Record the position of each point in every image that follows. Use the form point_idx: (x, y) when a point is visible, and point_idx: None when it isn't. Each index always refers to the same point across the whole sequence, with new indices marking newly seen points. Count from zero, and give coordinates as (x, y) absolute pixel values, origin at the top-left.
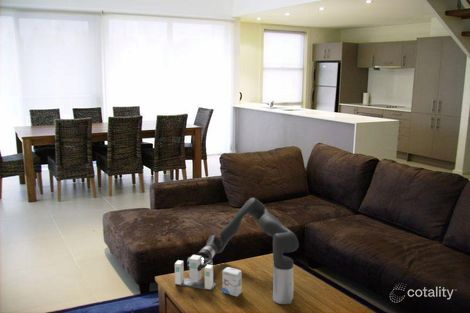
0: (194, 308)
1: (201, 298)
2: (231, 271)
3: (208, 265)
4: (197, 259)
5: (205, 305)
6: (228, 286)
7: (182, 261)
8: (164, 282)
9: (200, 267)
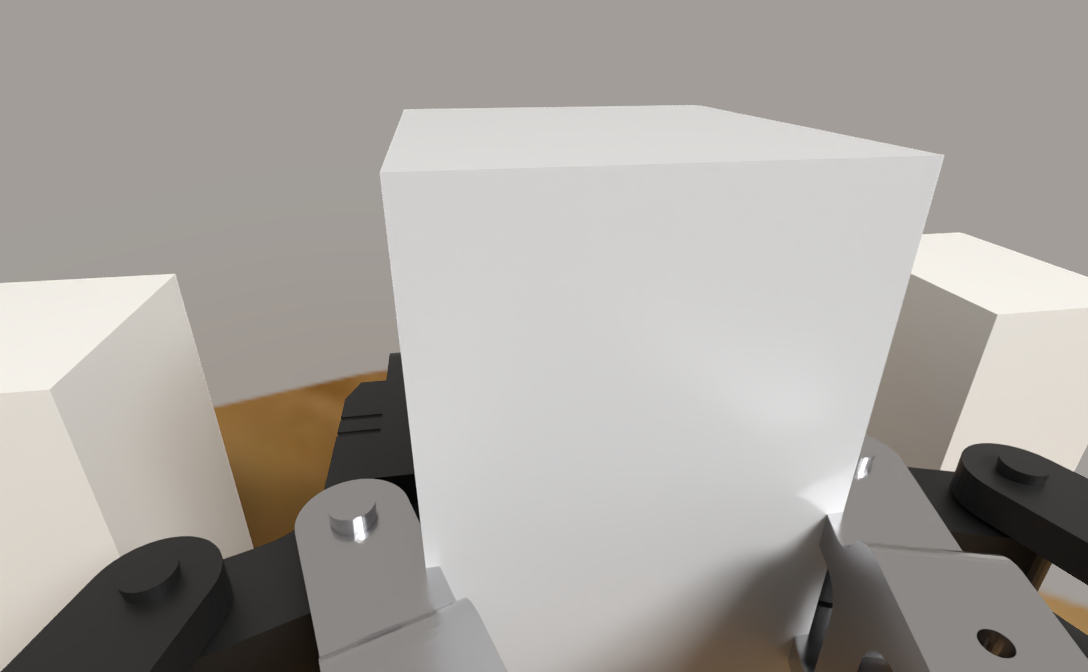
0: (327, 381)
1: (298, 504)
2: None
3: (14, 356)
4: (418, 111)
5: (224, 433)
6: None
7: (974, 296)
8: (1065, 618)
9: (356, 401)
